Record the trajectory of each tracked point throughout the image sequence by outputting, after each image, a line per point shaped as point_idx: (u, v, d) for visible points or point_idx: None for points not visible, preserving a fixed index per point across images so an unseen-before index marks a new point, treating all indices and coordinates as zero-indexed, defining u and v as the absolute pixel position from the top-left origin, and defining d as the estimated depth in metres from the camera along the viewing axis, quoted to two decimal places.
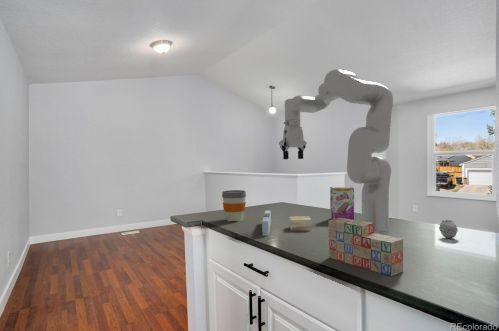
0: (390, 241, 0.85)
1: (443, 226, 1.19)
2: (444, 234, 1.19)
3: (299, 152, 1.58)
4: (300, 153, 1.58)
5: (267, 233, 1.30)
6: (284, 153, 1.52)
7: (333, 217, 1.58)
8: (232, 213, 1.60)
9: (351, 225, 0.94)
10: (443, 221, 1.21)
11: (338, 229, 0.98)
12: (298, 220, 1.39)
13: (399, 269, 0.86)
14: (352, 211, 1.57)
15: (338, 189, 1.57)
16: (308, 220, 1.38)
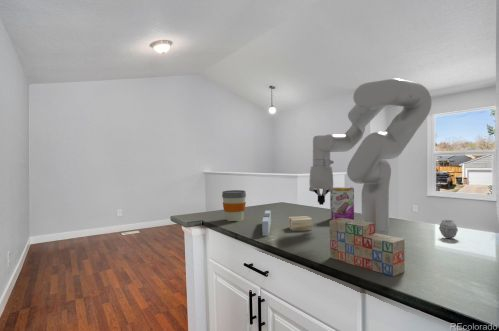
0: (391, 241, 0.85)
1: (443, 226, 1.19)
2: (444, 234, 1.19)
3: (321, 197, 1.41)
4: None
5: (267, 233, 1.30)
6: None
7: (333, 217, 1.58)
8: (232, 213, 1.60)
9: (352, 225, 0.94)
10: (443, 221, 1.21)
11: (339, 229, 0.98)
12: (299, 220, 1.38)
13: (401, 269, 0.86)
14: (352, 211, 1.57)
15: (338, 189, 1.57)
16: (309, 220, 1.39)
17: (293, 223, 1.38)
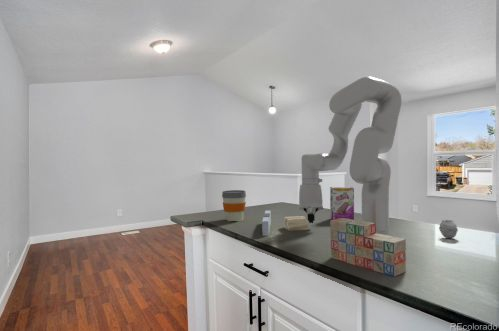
0: (393, 241, 0.85)
1: (443, 226, 1.19)
2: (444, 234, 1.19)
3: None
4: None
5: (267, 233, 1.30)
6: None
7: (333, 217, 1.58)
8: (232, 214, 1.60)
9: (353, 225, 0.94)
10: (443, 221, 1.21)
11: (340, 229, 0.97)
12: (295, 220, 1.39)
13: (402, 269, 0.86)
14: (352, 211, 1.57)
15: (338, 189, 1.57)
16: (305, 220, 1.39)
17: (289, 223, 1.38)
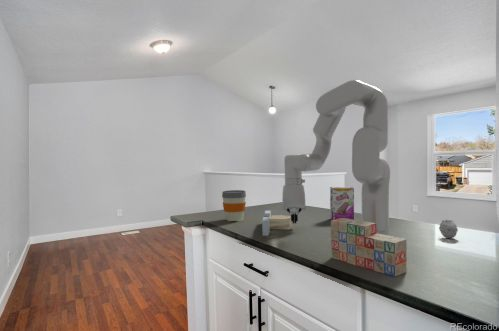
0: (394, 241, 0.85)
1: (443, 226, 1.19)
2: (444, 234, 1.19)
3: None
4: None
5: (267, 233, 1.30)
6: None
7: (333, 217, 1.58)
8: (232, 213, 1.60)
9: (354, 225, 0.93)
10: (443, 221, 1.21)
11: (340, 229, 0.97)
12: (277, 219, 1.42)
13: (403, 269, 0.86)
14: (352, 211, 1.57)
15: (338, 189, 1.57)
16: (287, 219, 1.41)
17: (271, 221, 1.42)
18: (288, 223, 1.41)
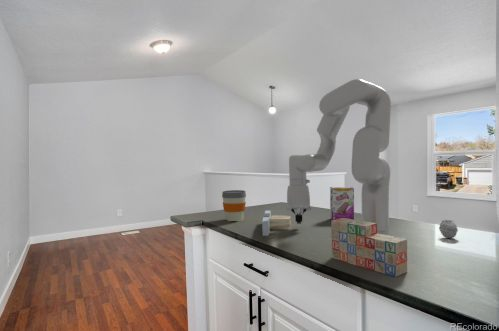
0: (394, 241, 0.84)
1: (443, 226, 1.19)
2: (444, 234, 1.19)
3: None
4: None
5: (267, 233, 1.30)
6: None
7: (333, 217, 1.58)
8: (232, 213, 1.60)
9: (354, 225, 0.93)
10: (443, 221, 1.21)
11: (341, 229, 0.97)
12: (277, 219, 1.42)
13: (404, 269, 0.86)
14: (352, 211, 1.57)
15: (338, 189, 1.57)
16: (287, 219, 1.41)
17: (271, 222, 1.42)
18: (288, 223, 1.41)
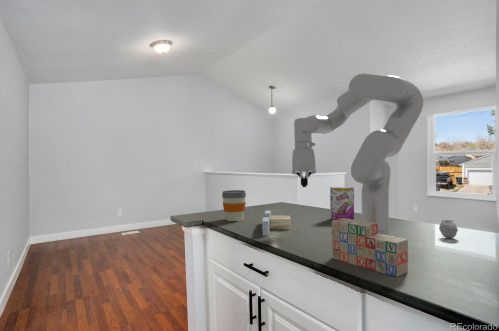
0: (395, 241, 0.84)
1: (443, 226, 1.19)
2: (444, 234, 1.19)
3: None
4: None
5: (267, 233, 1.30)
6: None
7: (333, 217, 1.58)
8: (232, 214, 1.60)
9: (355, 225, 0.93)
10: (443, 221, 1.21)
11: (342, 230, 0.97)
12: (277, 219, 1.42)
13: (404, 269, 0.86)
14: (352, 211, 1.57)
15: (338, 189, 1.57)
16: (287, 219, 1.41)
17: (271, 222, 1.42)
18: (288, 223, 1.41)
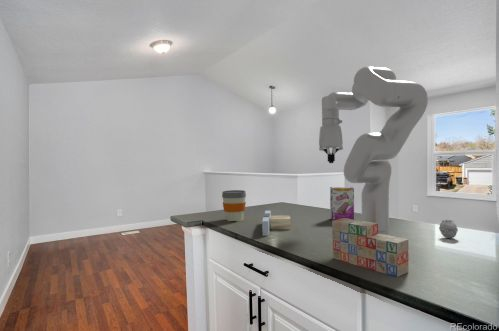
0: (396, 242, 0.84)
1: (443, 226, 1.19)
2: (444, 234, 1.19)
3: None
4: None
5: (267, 233, 1.30)
6: None
7: (333, 217, 1.58)
8: (232, 213, 1.60)
9: (355, 225, 0.93)
10: (443, 221, 1.21)
11: (342, 230, 0.97)
12: (278, 219, 1.42)
13: (405, 269, 0.86)
14: (352, 211, 1.57)
15: (338, 189, 1.57)
16: (287, 219, 1.41)
17: (271, 222, 1.42)
18: (289, 223, 1.41)
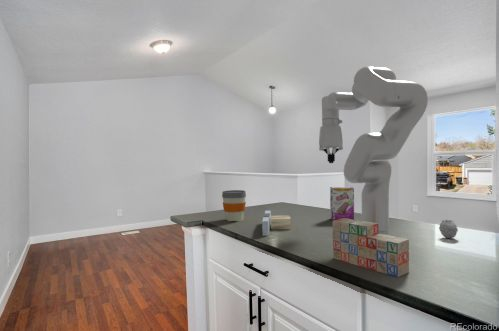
0: (396, 242, 0.84)
1: (443, 226, 1.19)
2: (444, 234, 1.19)
3: None
4: None
5: (267, 233, 1.30)
6: None
7: (333, 217, 1.58)
8: (232, 214, 1.60)
9: (356, 226, 0.93)
10: (443, 221, 1.21)
11: (342, 230, 0.97)
12: (278, 219, 1.42)
13: (406, 269, 0.86)
14: (352, 211, 1.57)
15: (338, 189, 1.57)
16: (288, 219, 1.41)
17: (272, 222, 1.42)
18: (289, 223, 1.41)
